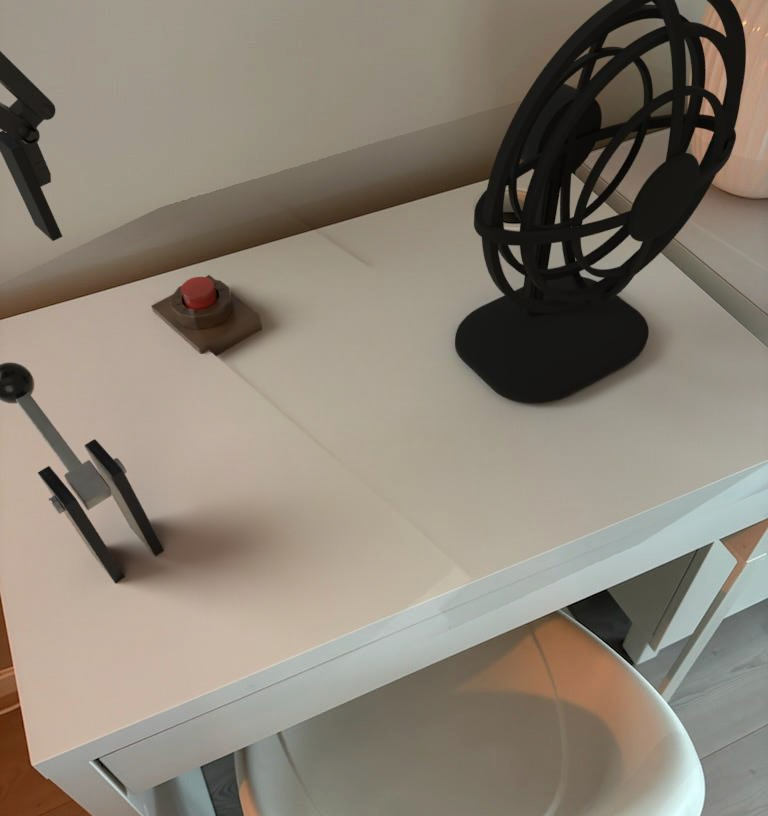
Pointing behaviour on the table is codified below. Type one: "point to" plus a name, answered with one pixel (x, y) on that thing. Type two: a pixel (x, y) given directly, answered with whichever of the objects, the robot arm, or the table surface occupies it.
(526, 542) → the table surface
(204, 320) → the button block
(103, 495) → the lever
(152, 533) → the bracket
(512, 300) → the desk fan
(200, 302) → the button
